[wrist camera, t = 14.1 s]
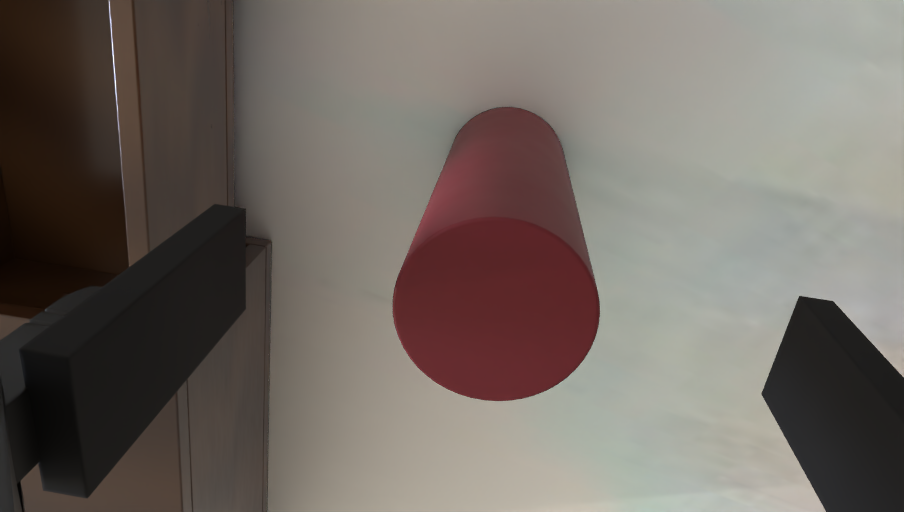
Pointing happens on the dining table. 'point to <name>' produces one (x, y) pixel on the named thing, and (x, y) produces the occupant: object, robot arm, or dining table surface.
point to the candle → (499, 266)
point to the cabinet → (192, 425)
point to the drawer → (108, 135)
